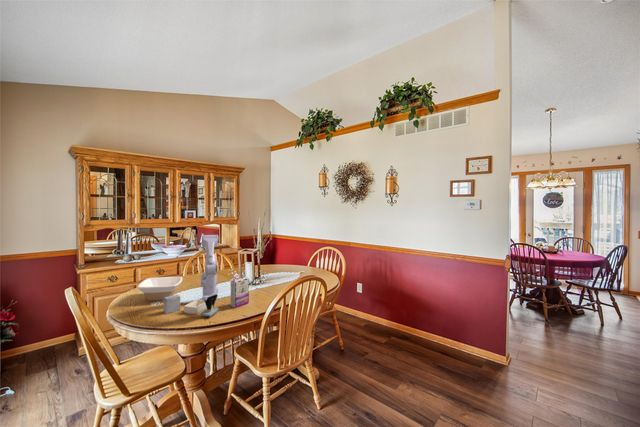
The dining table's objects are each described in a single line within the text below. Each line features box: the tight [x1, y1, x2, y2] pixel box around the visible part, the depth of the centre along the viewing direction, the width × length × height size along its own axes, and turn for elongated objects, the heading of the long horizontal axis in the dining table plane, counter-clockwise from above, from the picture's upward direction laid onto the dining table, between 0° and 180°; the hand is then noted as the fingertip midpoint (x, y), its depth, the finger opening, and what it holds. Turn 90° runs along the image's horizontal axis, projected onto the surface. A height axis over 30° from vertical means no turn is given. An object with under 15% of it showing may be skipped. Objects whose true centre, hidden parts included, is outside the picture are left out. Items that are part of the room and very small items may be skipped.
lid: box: [199, 305, 220, 317], centre depth 157 cm, size 10×6×4 cm, turn 174°
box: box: [183, 298, 207, 315], centre depth 164 cm, size 12×8×4 cm, turn 167°
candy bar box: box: [230, 276, 250, 309], centre depth 174 cm, size 11×5×16 cm, turn 149°
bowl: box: [137, 276, 183, 302], centre depth 183 cm, size 24×25×11 cm
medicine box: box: [162, 294, 181, 315], centre depth 160 cm, size 8×4×9 cm, turn 141°
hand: (210, 308), depth 157 cm, fingers closed on lid, 2 cm apart
